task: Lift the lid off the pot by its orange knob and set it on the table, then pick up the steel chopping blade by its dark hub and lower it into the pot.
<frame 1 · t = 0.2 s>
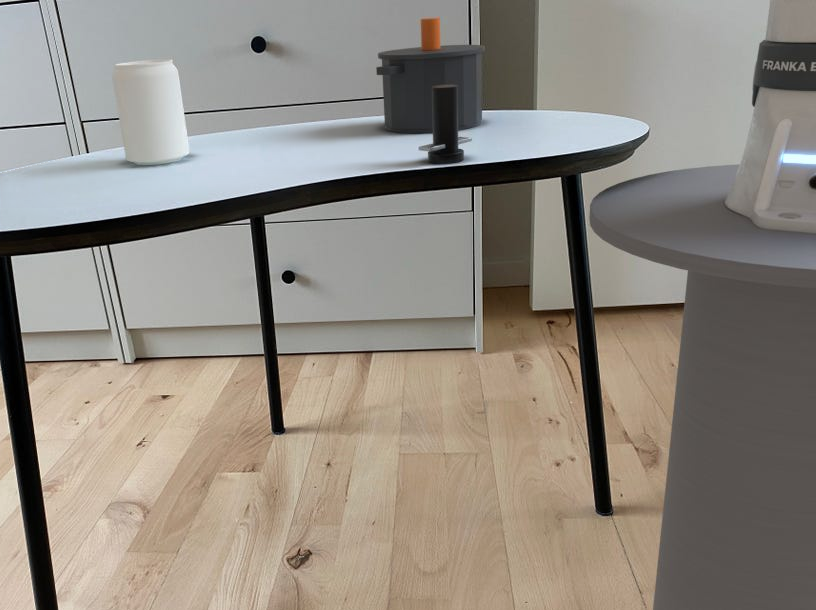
beverage can: (159, 161, 107), on the table
lid: (431, 54, 114), point 9 cm above the table, touching pot
pot: (432, 125, 118), on the table
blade: (445, 160, 94), on the table
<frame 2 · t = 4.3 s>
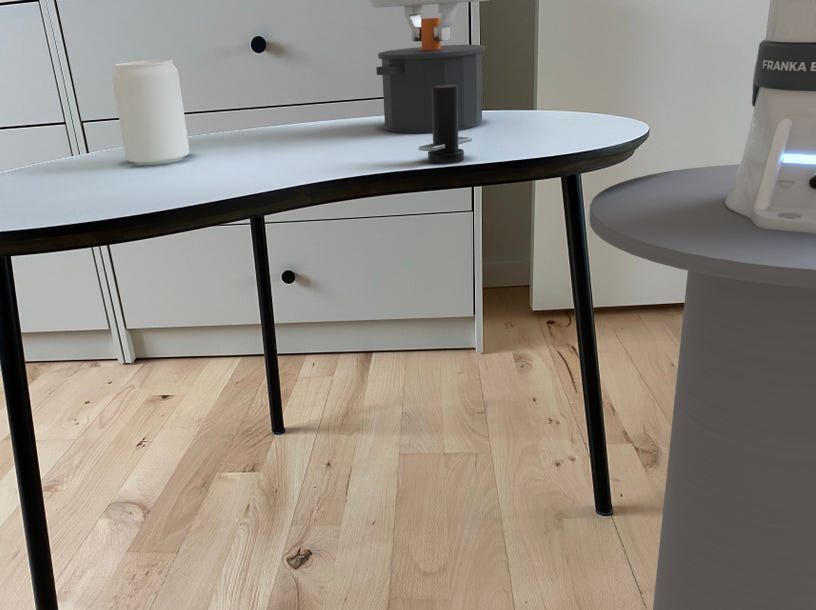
hand: (430, 41, 114), 11 cm above the table, tool pointing down, fingers closed on lid, 2 cm apart
lid: (431, 54, 114), point 10 cm above the table, touching pot, gripper
everything else where it was.
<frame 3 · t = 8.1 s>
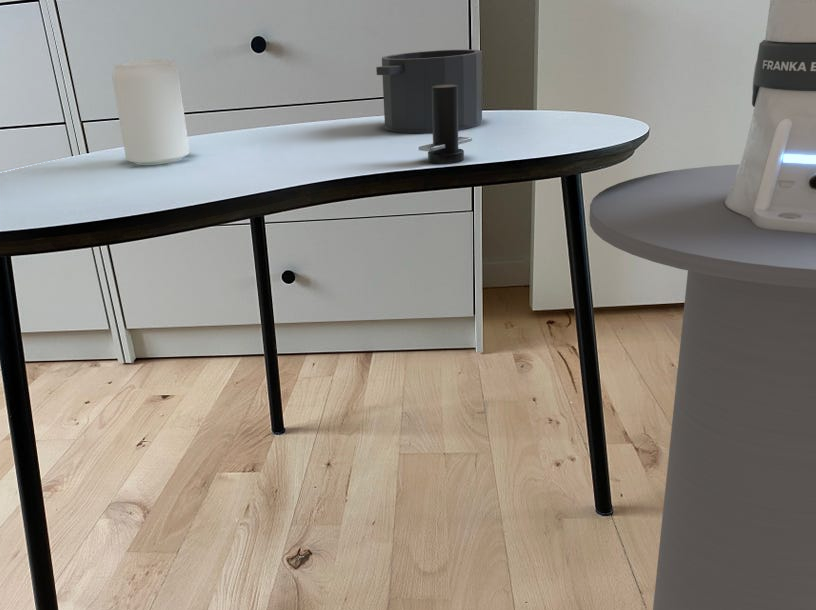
when the fingers open (2 cm above the table, at t = 12.0 s): lid stays where it is, point 1 cm above the table.
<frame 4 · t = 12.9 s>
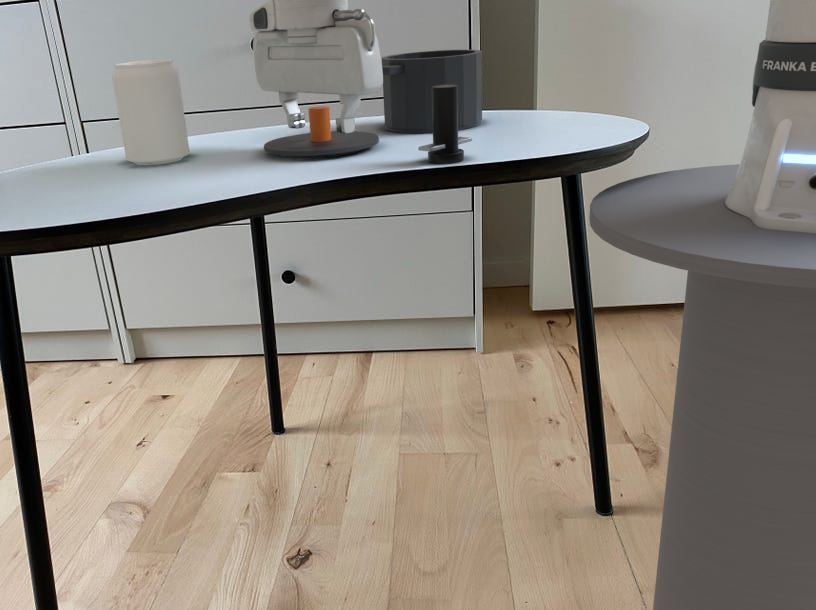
hand: (320, 130, 105), 2 cm above the table, tool pointing down, fingers open, 8 cm apart
lid: (321, 145, 105), point 1 cm above the table
everything else where it was.
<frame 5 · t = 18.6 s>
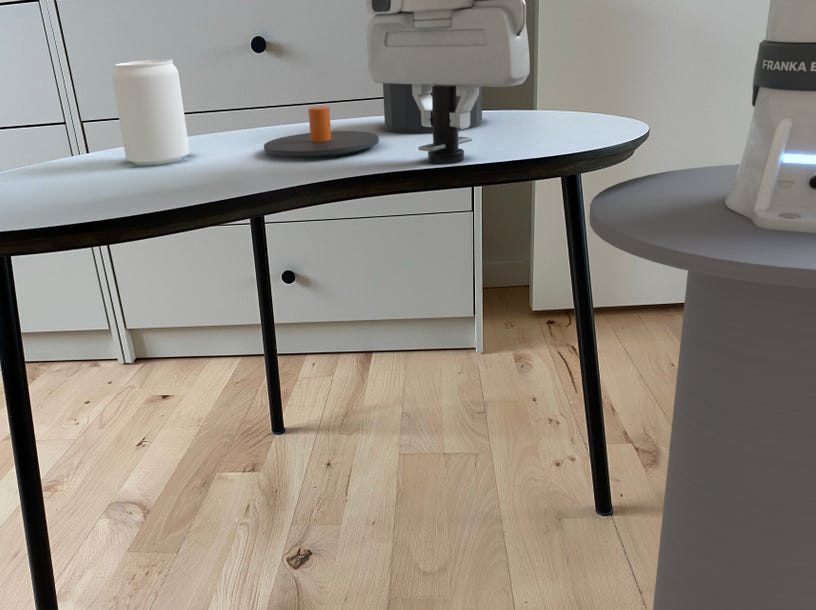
hand: (445, 127, 92), 4 cm above the table, tool pointing down, fingers closed on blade, 3 cm apart
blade: (446, 160, 94), on the table, touching gripper
everything else where it was.
when the fingers open (4 cm above the table, at t = 28.8 s): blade stays where it is, resting on pot.
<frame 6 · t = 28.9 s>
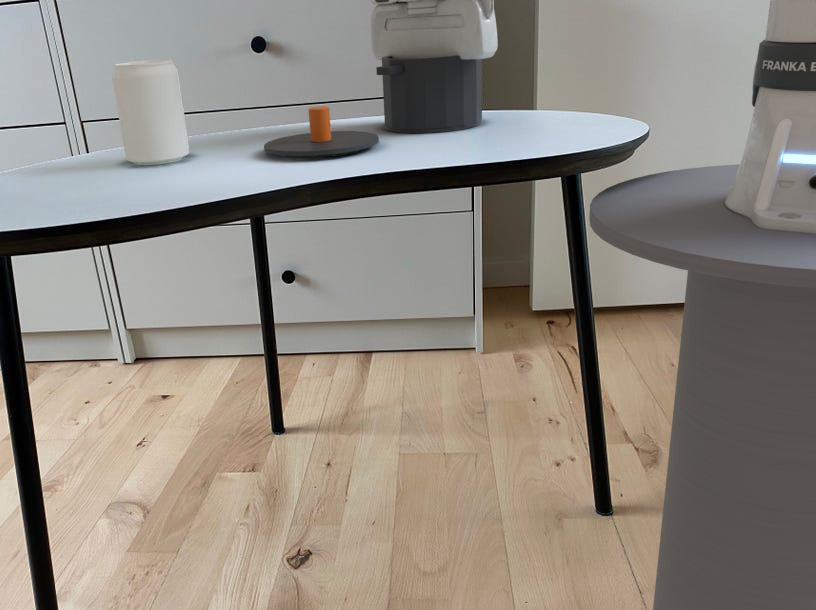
hand: (433, 93, 116), 4 cm above the table, tool pointing down, fingers open, 7 cm apart
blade: (432, 121, 118), resting on pot
everything else where it was.
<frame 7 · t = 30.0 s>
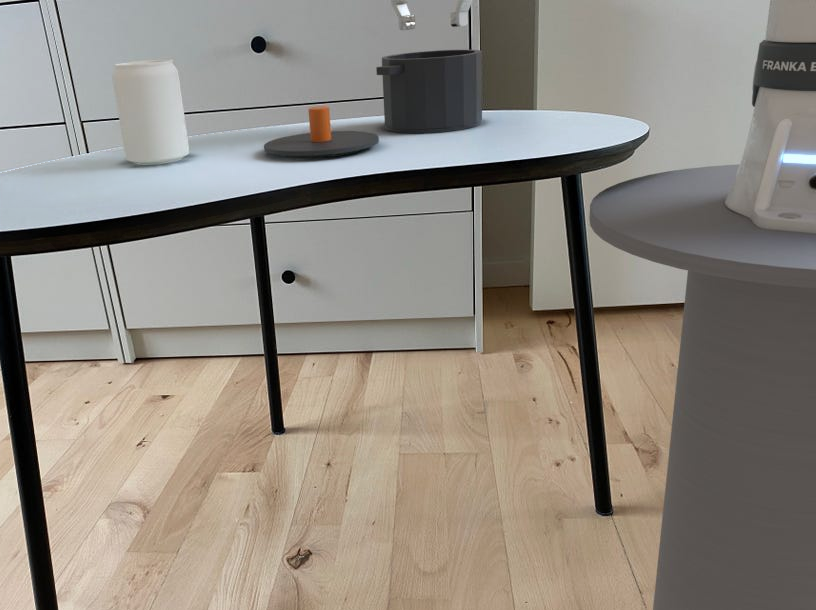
hand: (432, 28, 113), 13 cm above the table, tool pointing down, fingers open, 8 cm apart
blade: (446, 122, 116), point 1 cm above the table, touching pot
everything else where it was.
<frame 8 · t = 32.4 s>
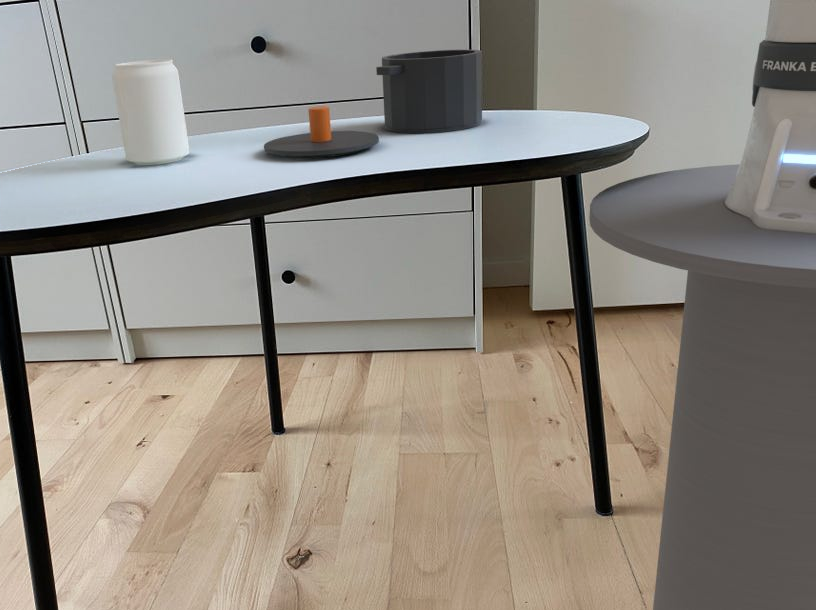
nothing on the table moved.
at the end: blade inside the target area in the pot (2.5 cm from its centre), point 0.5 cm above the pot's base; lid inside the target area (0.0 cm from its centre), point 0.6 cm above the table; the gripper is holding nothing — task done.
